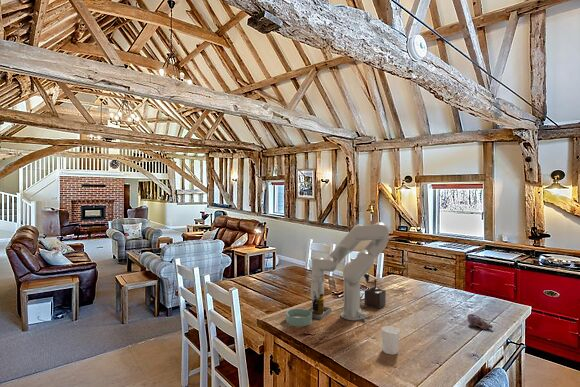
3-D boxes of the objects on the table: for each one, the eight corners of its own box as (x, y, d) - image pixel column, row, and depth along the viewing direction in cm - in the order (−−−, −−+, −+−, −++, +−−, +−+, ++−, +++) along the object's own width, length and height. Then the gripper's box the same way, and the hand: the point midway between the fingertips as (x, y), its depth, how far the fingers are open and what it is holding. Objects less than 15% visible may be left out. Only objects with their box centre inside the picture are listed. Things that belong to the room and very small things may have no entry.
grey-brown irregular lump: (494, 329, 173) (494, 317, 173) (488, 333, 168) (489, 321, 168) (470, 322, 182) (470, 311, 182) (464, 325, 178) (464, 314, 177)
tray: (331, 311, 196) (331, 307, 196) (320, 319, 183) (320, 316, 183) (314, 307, 202) (314, 304, 202) (303, 315, 189) (303, 312, 189)
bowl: (316, 319, 183) (316, 311, 183) (304, 328, 171) (304, 320, 171) (294, 314, 191) (294, 306, 191) (281, 322, 178) (281, 314, 178)
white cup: (378, 347, 151) (378, 325, 151) (395, 346, 152) (395, 325, 152) (385, 355, 143) (385, 333, 143) (402, 355, 144) (402, 332, 144)
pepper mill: (386, 304, 209) (387, 276, 209) (378, 308, 201) (379, 280, 201) (365, 298, 220) (365, 272, 220) (356, 302, 212) (357, 275, 212)
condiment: (326, 314, 191) (326, 293, 191) (315, 317, 187) (315, 296, 187) (318, 310, 197) (319, 290, 197) (307, 312, 193) (308, 292, 193)
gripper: (318, 274, 202) (318, 302, 202) (305, 280, 187) (305, 311, 187) (329, 275, 198) (329, 305, 198) (317, 282, 183) (317, 314, 183)
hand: (317, 308), depth 193 cm, fingers closed on condiment, 6 cm apart
